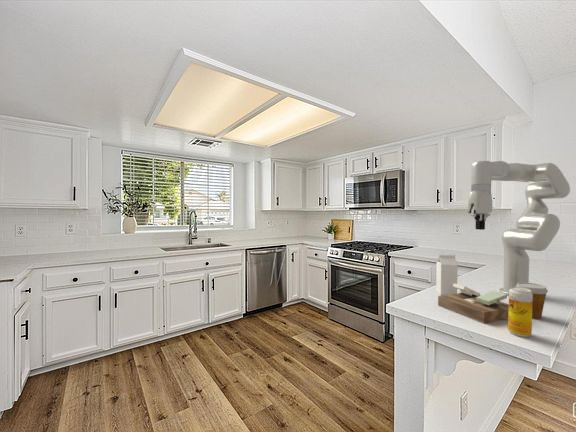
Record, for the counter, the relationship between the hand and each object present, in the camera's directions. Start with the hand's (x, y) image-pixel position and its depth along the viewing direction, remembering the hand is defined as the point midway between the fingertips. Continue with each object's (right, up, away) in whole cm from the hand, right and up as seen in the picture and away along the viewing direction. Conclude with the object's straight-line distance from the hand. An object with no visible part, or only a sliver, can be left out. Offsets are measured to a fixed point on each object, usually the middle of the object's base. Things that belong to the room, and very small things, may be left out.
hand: (480, 229), depth 129 cm
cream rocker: (-11, -26, -7) cm, 29 cm away
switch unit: (-11, -33, -13) cm, 37 cm away
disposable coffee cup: (+7, -33, -18) cm, 38 cm away
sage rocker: (-7, -27, -18) cm, 33 cm away
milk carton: (-10, -32, +9) cm, 35 cm away
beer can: (-10, -34, -34) cm, 49 cm away
